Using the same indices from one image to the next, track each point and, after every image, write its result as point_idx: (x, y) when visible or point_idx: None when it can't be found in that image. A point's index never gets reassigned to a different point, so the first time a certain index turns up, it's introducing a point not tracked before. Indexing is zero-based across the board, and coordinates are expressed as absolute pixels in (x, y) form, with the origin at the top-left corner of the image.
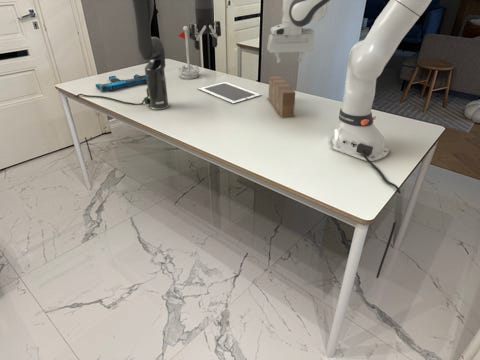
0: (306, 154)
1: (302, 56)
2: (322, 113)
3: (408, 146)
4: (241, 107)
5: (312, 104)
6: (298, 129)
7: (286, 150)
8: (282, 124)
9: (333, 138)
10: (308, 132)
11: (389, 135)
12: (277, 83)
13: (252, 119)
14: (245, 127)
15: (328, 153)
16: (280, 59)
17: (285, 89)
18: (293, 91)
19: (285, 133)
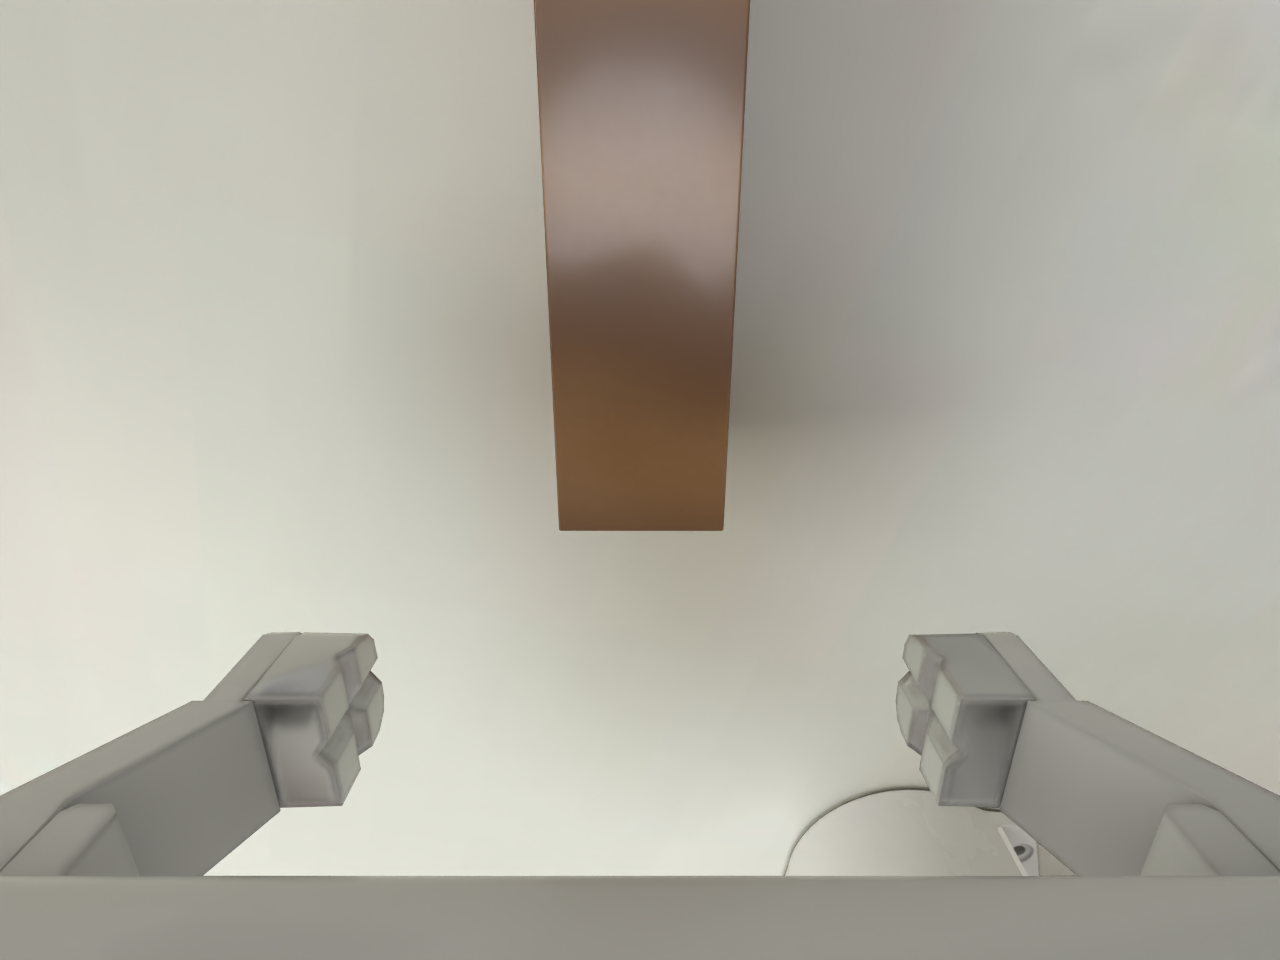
0: None
1: (1095, 850)
2: (1002, 397)
3: None
4: (183, 57)
5: (1045, 117)
6: (655, 658)
7: None
8: (557, 561)
9: (806, 870)
10: (709, 709)
11: None
12: (576, 48)
13: (308, 422)
14: (247, 566)
15: None
16: (324, 792)
17: (626, 394)
18: (710, 494)
19: (542, 699)
